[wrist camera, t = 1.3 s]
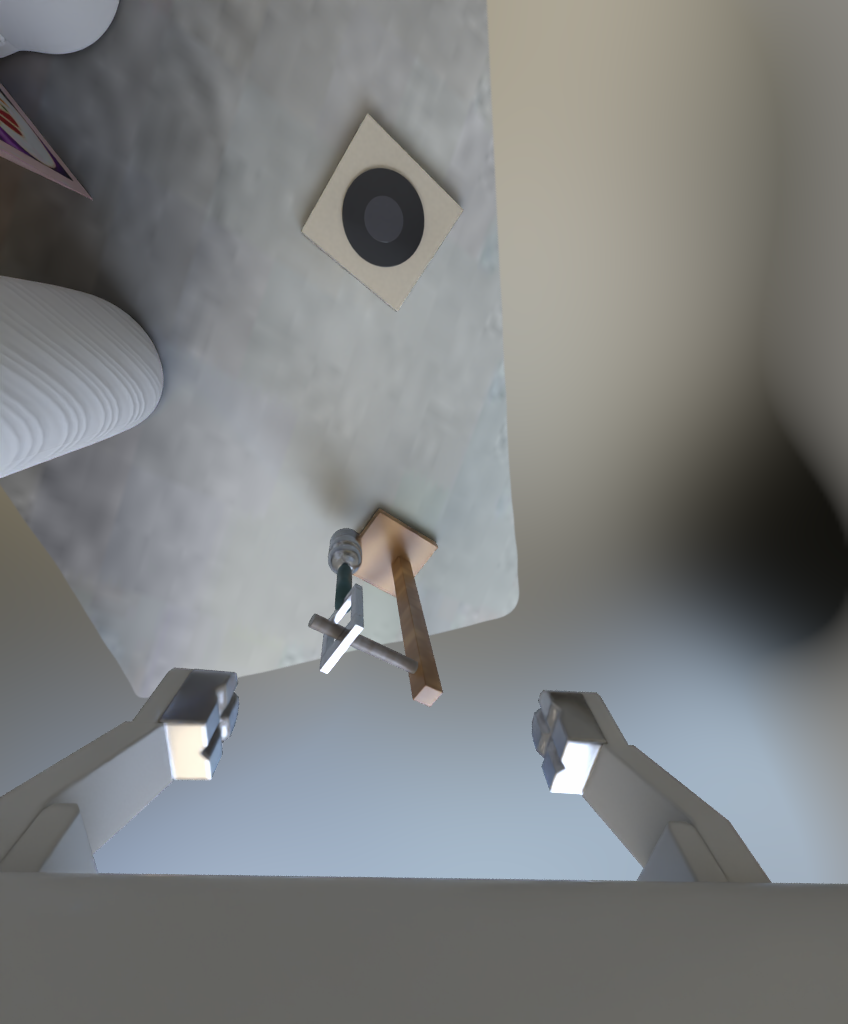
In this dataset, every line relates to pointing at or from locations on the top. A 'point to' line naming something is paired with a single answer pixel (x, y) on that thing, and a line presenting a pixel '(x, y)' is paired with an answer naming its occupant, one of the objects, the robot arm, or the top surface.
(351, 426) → the top surface
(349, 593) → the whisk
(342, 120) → the top surface
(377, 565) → the hook stand
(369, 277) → the hot plate
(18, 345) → the vase
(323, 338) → the top surface
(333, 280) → the top surface
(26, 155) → the greeting card
